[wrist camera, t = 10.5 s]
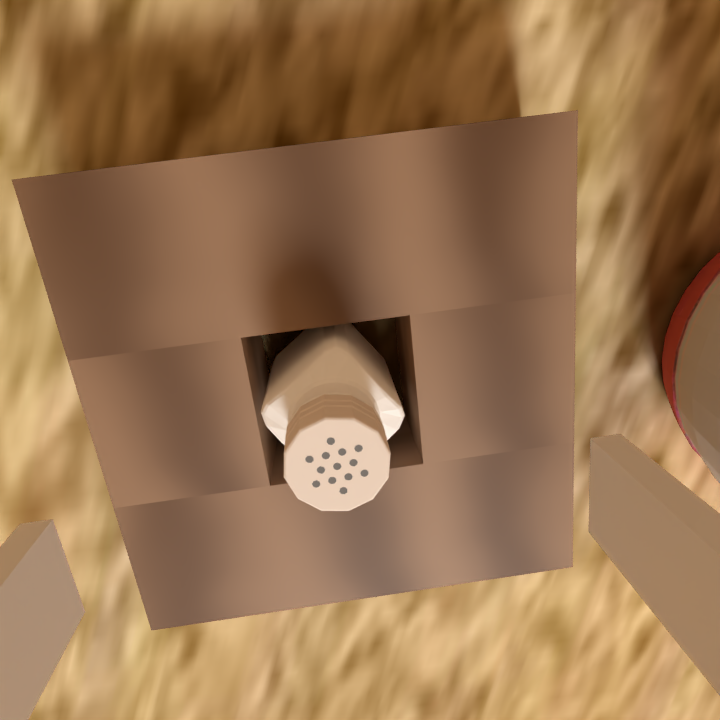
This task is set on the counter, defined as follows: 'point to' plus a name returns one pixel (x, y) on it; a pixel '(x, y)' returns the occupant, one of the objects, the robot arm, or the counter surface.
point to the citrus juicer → (696, 364)
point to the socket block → (312, 310)
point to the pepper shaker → (333, 416)
